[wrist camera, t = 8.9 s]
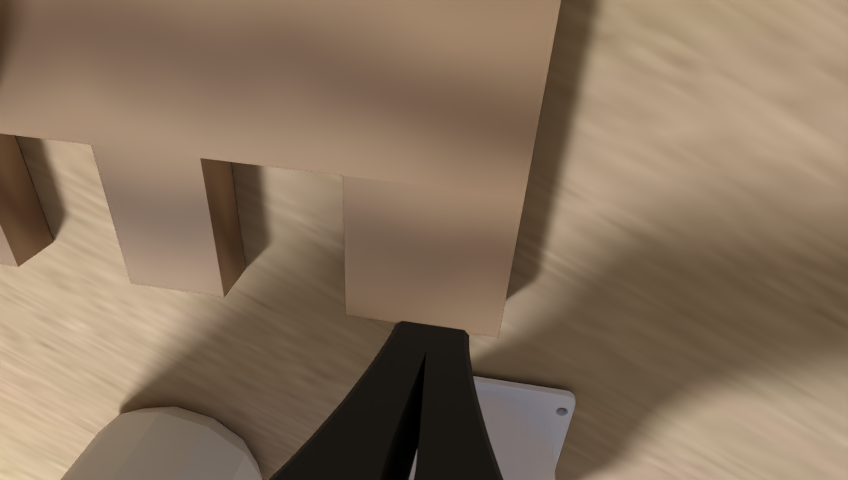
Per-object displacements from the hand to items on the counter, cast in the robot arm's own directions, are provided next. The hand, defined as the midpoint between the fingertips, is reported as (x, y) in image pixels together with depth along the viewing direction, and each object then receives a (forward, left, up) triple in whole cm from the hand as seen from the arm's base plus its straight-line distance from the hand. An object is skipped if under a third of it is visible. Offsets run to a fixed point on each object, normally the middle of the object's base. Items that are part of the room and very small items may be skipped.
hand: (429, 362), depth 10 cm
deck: (0, +10, -10) cm, 14 cm away
